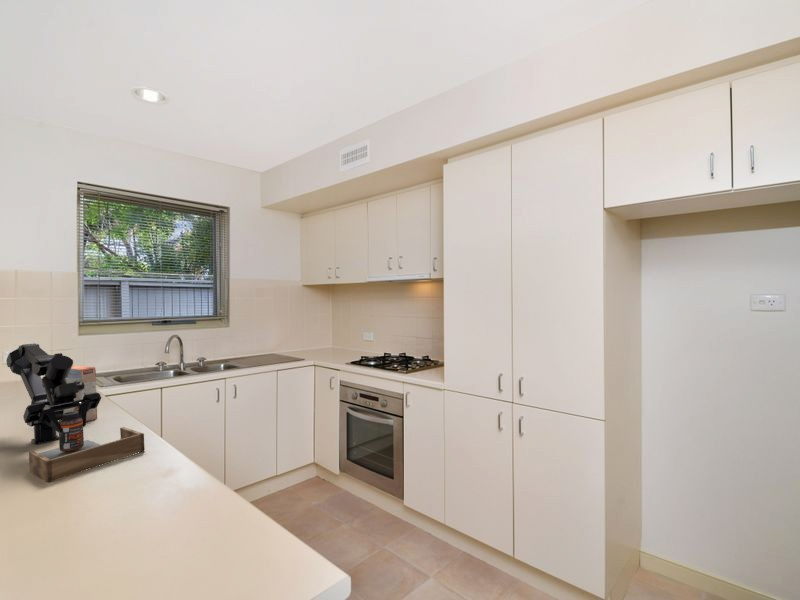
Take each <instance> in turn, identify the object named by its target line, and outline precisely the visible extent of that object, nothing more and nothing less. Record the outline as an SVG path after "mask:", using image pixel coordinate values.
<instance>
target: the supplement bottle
mask: <svg viewBox="0 0 800 600" xmlns="http://www.w3.org/2000/svg"><path fill="white" fill-rule="evenodd" d="M62 418H63V419H62V420H59V421H58V422H59V424H60V426H61V430H62V431H61V432H60V433H59V432H58V436H59V439H58V443H59V444H58V445H59V446H58V448H60V451H62V452H69V451H74V450H78V449H80V448H82V447H83V446H84V441H85V440H84V439H85V438H84V427H83V420H82V418H79V412H78V411H72V412H67V413H64V414H62Z"/></svg>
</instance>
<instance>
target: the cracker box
mask: <svg viewBox="0 0 800 600" xmlns="http://www.w3.org/2000/svg"><path fill="white" fill-rule="evenodd" d="M96 370H97V369H96V367H95V366H87V365H86V366H85V365H84V366H83V365H72V368H71V370H70V373H69V375H68V377H66V378H65V379H66V382H67V383H73V382H75V381H76V380H82V381H83V383H84V386H85V388H84V389H83V390H81V391H79V392H78V393H76V395H77V396H76V398H74V401H77V400H82V399H83V397H84V395H85V394H90V393H96V392H97V375H96V374H97V372H96ZM78 410H79V409H78V407H74V408H70V409H65V410H64V413H67V412H72V411H78ZM64 413H63V414H64ZM97 419H98V406H97V407H96V408H94V409H89V411H88V412H87V414H86V423H87V422H91V421H94V420H95V421H96V420H97Z"/></svg>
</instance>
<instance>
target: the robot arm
mask: <svg viewBox="0 0 800 600" xmlns="http://www.w3.org/2000/svg"><path fill="white" fill-rule="evenodd" d="M72 366H74V359H72V358H71V357H69V356H67V355H64V354H63V353H61V352H60V353H59V352H58V353H54V354H49V353H48V352H46V351H44V350H43V349H42V348H41V346H40V344H39V343H25V344H22V345H19V346H18V348H16V349H15V350H12V351H10V352H9V353H8V355H7V357H6V367H7V368H9V370H10V371H11V372H12V373H13V374H15V375H18V376H20V378H21V380H22V381H23V382H22V383H23V384H24V386H25V389H26V391H27V393H28V395H29V397H30V400H31V401H30V405H27V406H26V407H25V409H24V413H23V415H22V417H23V420H24V423H25V424H26V425H27V426H29V427H31V428H32V427H33V434H34V435H33V437H34V438H32V439H31V442H32V444H33V445H40V444H44V443H48V442H53V441H57V440H58V441H59V435H57V433H58V434H59V433H60V432H61V431H62V430H61V426H60V424H59V422H60V421H62V419H63V418H62V414H63V413H64V410H65V409H70V408H74V407H78V409H79V410H78V412H79V418H82V420H83V428H84V427H86V426H87V422H86V414H87V412H88V411H89V409H94V408H96V407H97V408H98V407H99V404H100V401H101V399H102V396H101V393H99V392H97V391H96V393H90V394H85V395H84V397H83V399H82V400H77V401H74V398H76V396H77V395H76V393H78V392H79V391H81V390H83V389H84V388H85V386H84V383H83V381H82V380H76V381H75V382H73V383H67V382H66V379H65V378H66V377H68V375H69V373H70V370H71V368H72ZM41 376H42V377H41Z"/></svg>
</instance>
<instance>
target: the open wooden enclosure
mask: <svg viewBox="0 0 800 600" xmlns="http://www.w3.org/2000/svg"><path fill="white" fill-rule="evenodd" d="M119 430H120V431H119V433H120V439H117V440H114V441H110V442H107V443H104V444H100V445H99V446H96V447H92V448H89V449H85V450H82V451H78V452H75V453H71V454H68V455H64V456H61V457H57V458H54V459H48V458H46V457H44V456H42V455H40V454H38V453H39V452H36V451H34V450H33V451H30V452H28V462H29V464H28V465H29V473H31V474H32V475H34V476H36V477H38V478H39V479H41V480H43V481H44V482H46V483H51V482H54V481H57V480H60V479H63V478H65V477H69V476H73V475H75V473H76V474H78V472H79V473H82V472H85V471H87V470H86V469H88V470H90V469H89V468H91V469H94V468H96V466H97V467H100V466H102V464H103V465H106V464H109V463H111V461H113V462H115V461H114V460H116V461H118V460H117V459H119V460H122V459H124V457H125V458H128V457H131V456H133V454H134V455H136V454H135V453H137V454H139V453H138V452H140V453H142V452H141V451H143V452H145V451H144V450H145V433H143V432H141V431H137V430H134V429H130V428H127V427H125V426H122V427H120V428H119ZM130 455H131V456H130ZM127 456H128V457H127ZM121 458H122V459H121ZM108 462H109V463H108ZM105 463H106V464H105ZM99 465H100V466H99ZM93 467H94V468H93ZM84 470H85V471H84ZM81 471H82V472H81Z"/></svg>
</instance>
